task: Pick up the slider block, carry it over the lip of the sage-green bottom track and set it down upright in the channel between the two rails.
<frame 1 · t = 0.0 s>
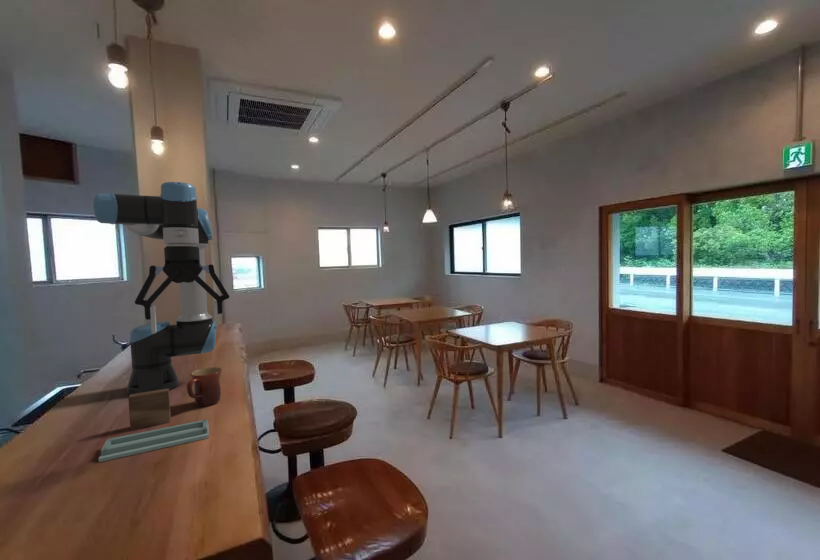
hand: (186, 329, 94), 28 cm above the table, fingers open, 13 cm apart
track base: (159, 441, 93), on the table
slider block: (151, 424, 103), on the table
mug: (204, 405, 116), on the table
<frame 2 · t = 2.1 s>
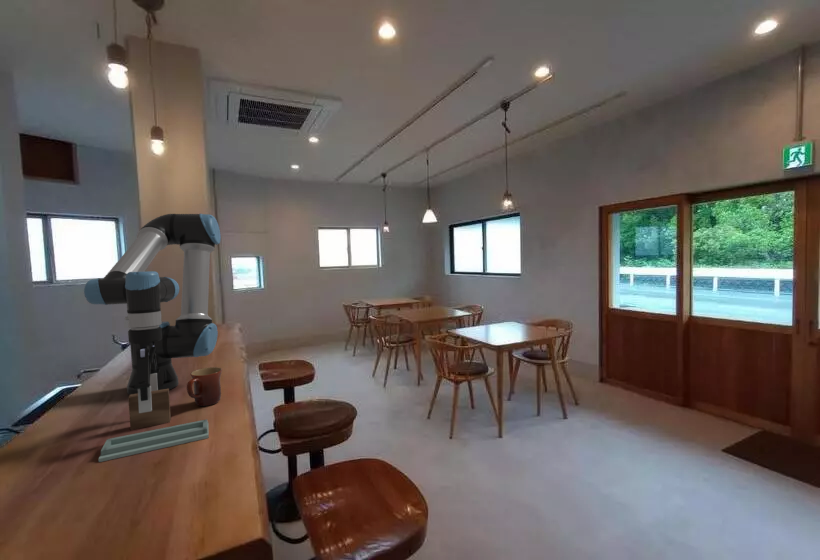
hand: (149, 403, 102), 6 cm above the table, fingers open, 13 cm apart
nothing on the table moved.
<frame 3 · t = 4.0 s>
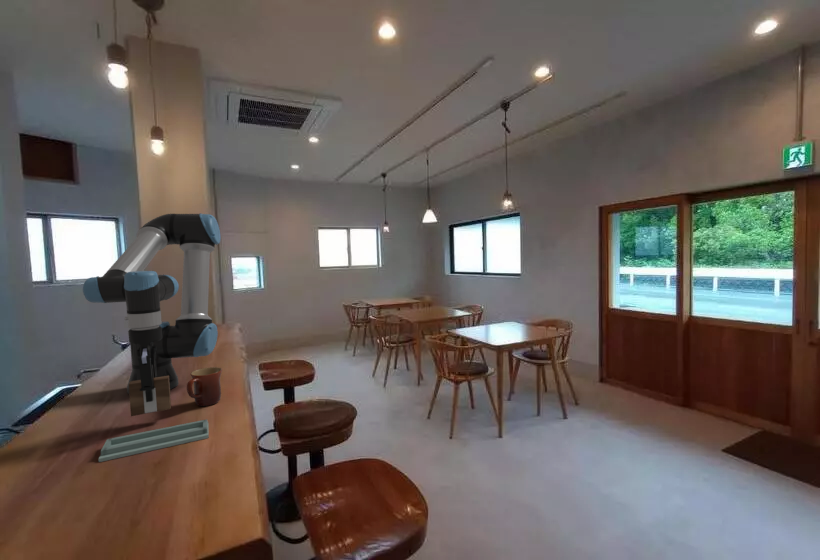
hand: (151, 409, 104), 4 cm above the table, fingers closed on slider block, 3 cm apart
slider block: (151, 410, 104), point 4 cm above the table, touching gripper
everything else where it was.
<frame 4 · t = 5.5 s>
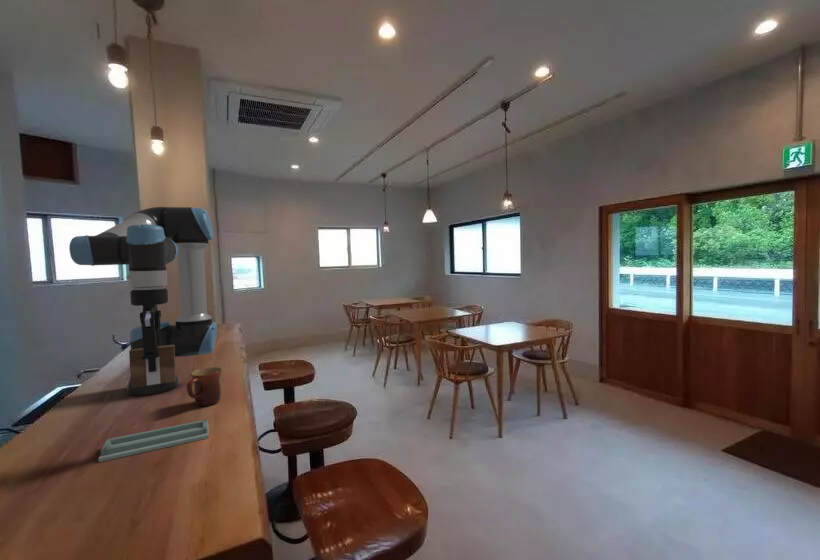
hand: (154, 381, 92), 15 cm above the table, fingers closed on slider block, 3 cm apart
slider block: (154, 383, 92), point 15 cm above the table, touching gripper
everything else where it was.
when the fingers open (3 cm above the table, at t = 7.1 s): slider block drops 2 cm, resting on track base.
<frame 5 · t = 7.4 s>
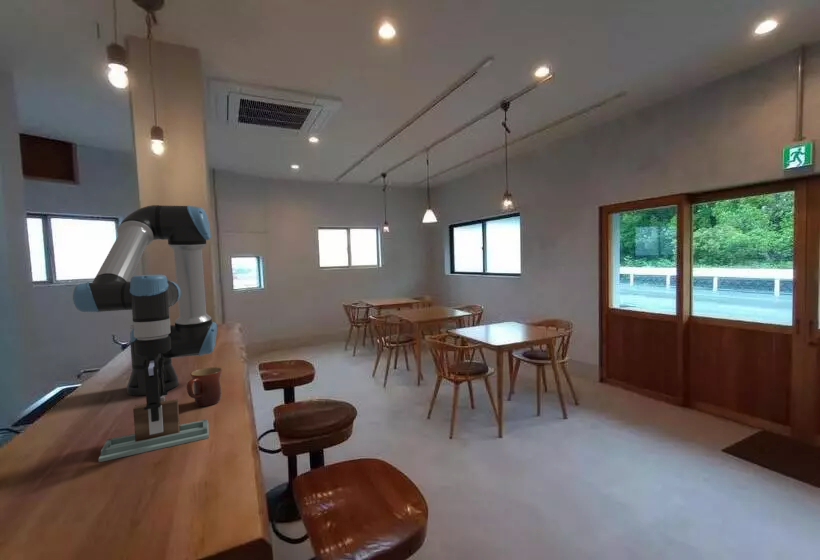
hand: (158, 427, 93), 4 cm above the table, fingers open, 6 cm apart
slider block: (158, 438, 93), point 1 cm above the table, touching track base
everything else where it was.
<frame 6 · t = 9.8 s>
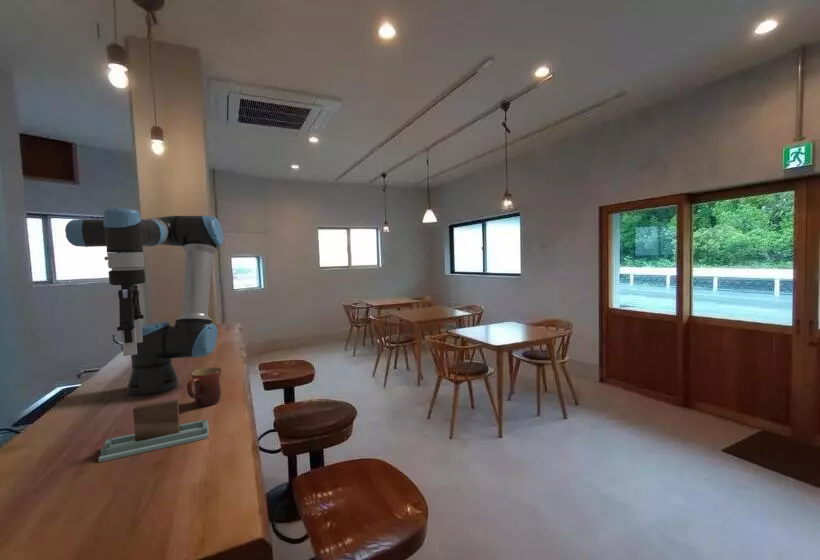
hand: (133, 348, 98), 22 cm above the table, fingers open, 13 cm apart
nothing on the table moved.
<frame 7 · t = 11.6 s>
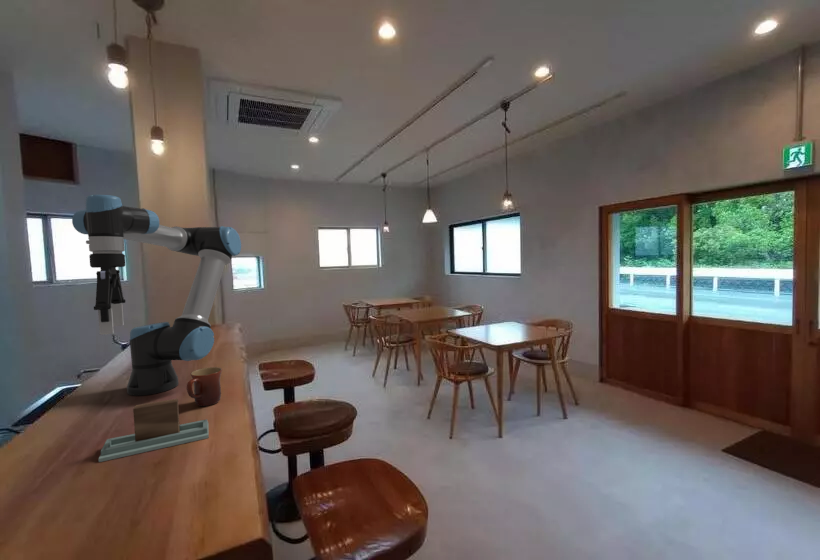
hand: (112, 330, 102), 27 cm above the table, fingers open, 13 cm apart
nothing on the table moved.
at the end: slider block inside the target area on the track base (0.1 cm from its centre), point 0.8 cm above the track base's base; slider block tilted 0°; the gripper is holding nothing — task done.
